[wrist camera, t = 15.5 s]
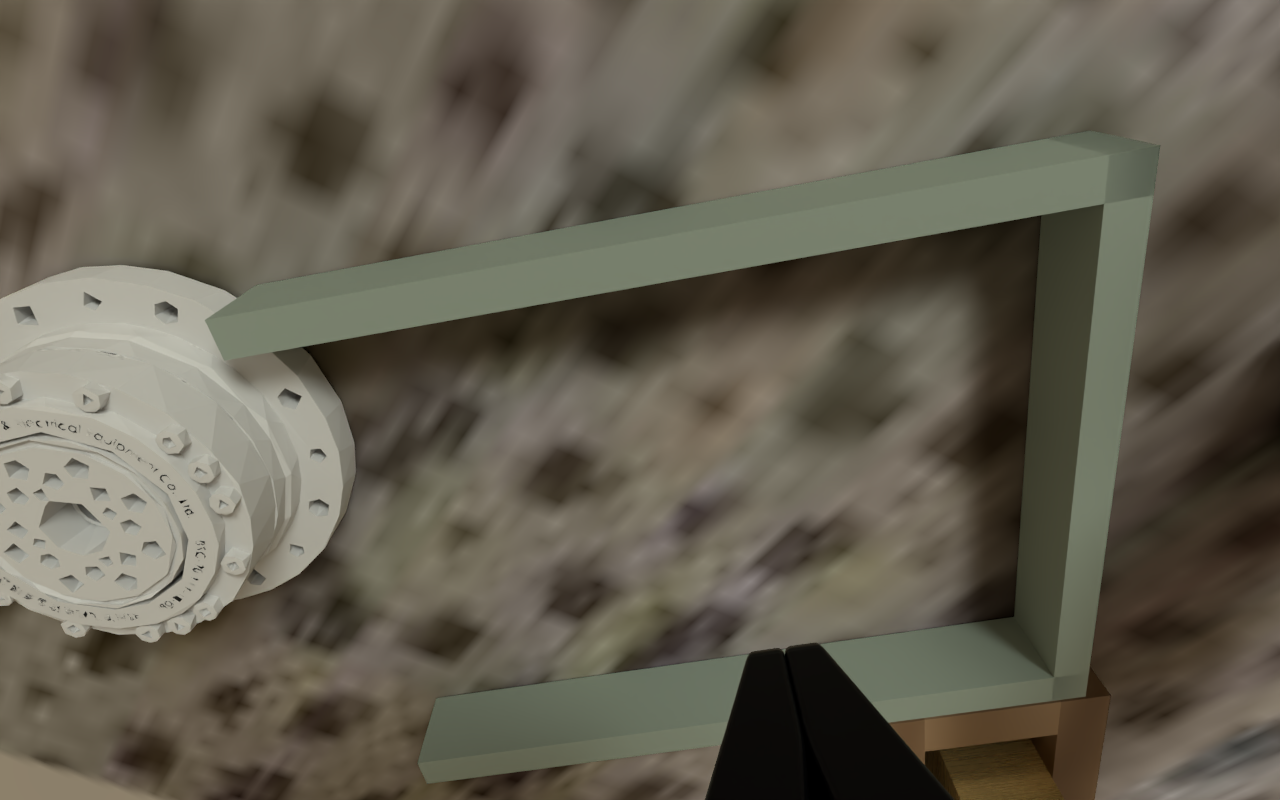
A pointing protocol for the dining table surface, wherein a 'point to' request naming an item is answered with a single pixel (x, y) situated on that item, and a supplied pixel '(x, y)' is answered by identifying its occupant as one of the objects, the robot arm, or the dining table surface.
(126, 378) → the mechanical component
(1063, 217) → the green u-shaped frame
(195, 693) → the dining table surface
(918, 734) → the rectangular frame
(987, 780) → the block
